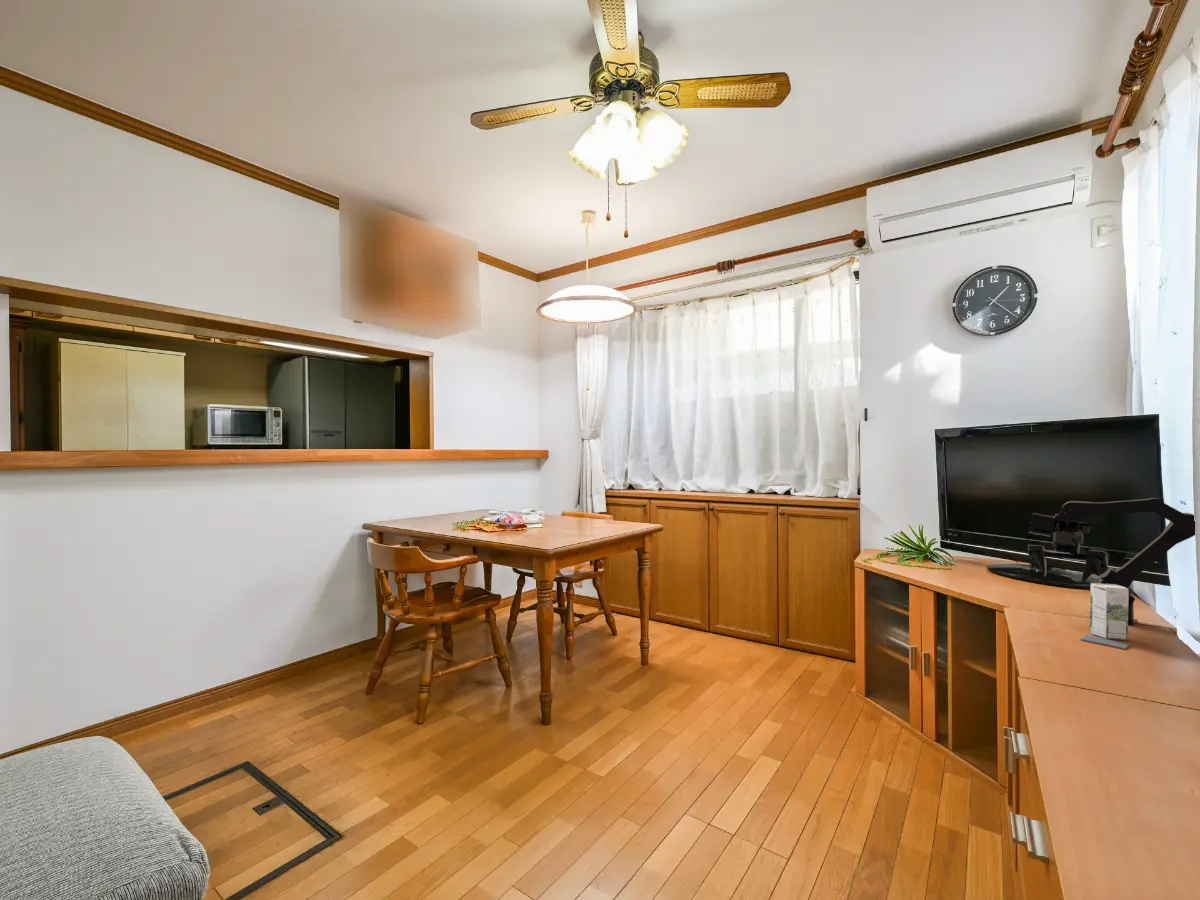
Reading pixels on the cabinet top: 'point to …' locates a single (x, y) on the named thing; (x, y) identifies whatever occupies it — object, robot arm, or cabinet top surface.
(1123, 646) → the slate mat
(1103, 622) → the syrup box
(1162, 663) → the cabinet top surface
